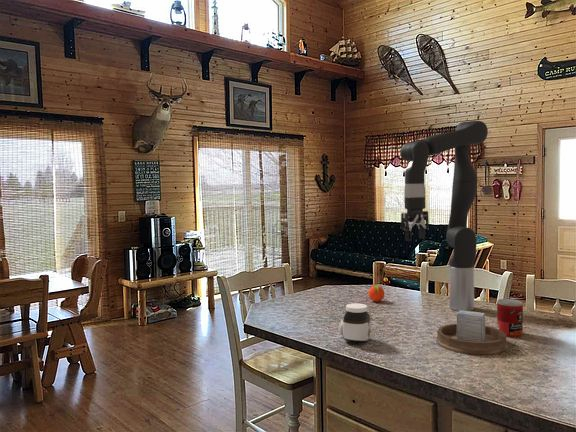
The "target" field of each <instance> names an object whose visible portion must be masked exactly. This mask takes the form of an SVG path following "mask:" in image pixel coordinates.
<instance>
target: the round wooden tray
mask: <svg viewBox="0 0 576 432" xmlns="http://www.w3.org/2000/svg"><path fill="white" fill-rule="evenodd" d="M436 332H437V336H436V343H437V345H438V346H440V347H441V348H443V349H445V350H448V351H451V352H453V353H454V352H455V353H458V354H459V353H460V354H465V355H472V356H473V355H474V356H490V355H491V356H493V355H498V354H502V353H504V352H506V351H507V350H508V349H509V343H508V341H507V337H506V334H505V333H504V332H503V331H501V330H499V329H497V327H492V326H489V325H485V340H484V342H472V341H464V340H459V339H457V323H451V324H445V325H442V326H440V327H438V329H437V331H436Z"/></svg>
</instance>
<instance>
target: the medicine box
mask: <svg viewBox="0 0 576 432" xmlns="http://www.w3.org/2000/svg"><path fill="white" fill-rule="evenodd" d="M456 324H457V339H459V340H464V341H472V342H484V340H485V326H486V313H485V312H480V311H479V312H477V311H472V310H471V311H461V310H460V311H458V312H457V313H456Z"/></svg>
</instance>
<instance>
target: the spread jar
mask: <svg viewBox="0 0 576 432" xmlns="http://www.w3.org/2000/svg"><path fill="white" fill-rule="evenodd" d="M345 310H346V311H345V313H344V315H343V318H342V319H341V320H340V322H339V323H338V326H337V330H338V332H339V333H340V334H341V335H342V337H343V340H344V341H345V342H347V343H348V344H350V345H364V344H365V345H366V343H369V341H370V338H371V334H372V333H371V332H372V324H371V323H372V321H371V320H372V318H371V314H370V313H369V312H368V304H365V303H348V304H346V306H345Z"/></svg>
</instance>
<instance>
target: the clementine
mask: <svg viewBox="0 0 576 432" xmlns="http://www.w3.org/2000/svg"><path fill="white" fill-rule="evenodd" d="M385 295H386V293H385V290H384V288H383V287H381V286H380V285H377V284H375V285H372V286H371V287H370V288H369V290H368V297H369V299H370V300H371V301H372V302H376V303H377V302H380V301H382V300H383V299H384V298H385Z"/></svg>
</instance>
